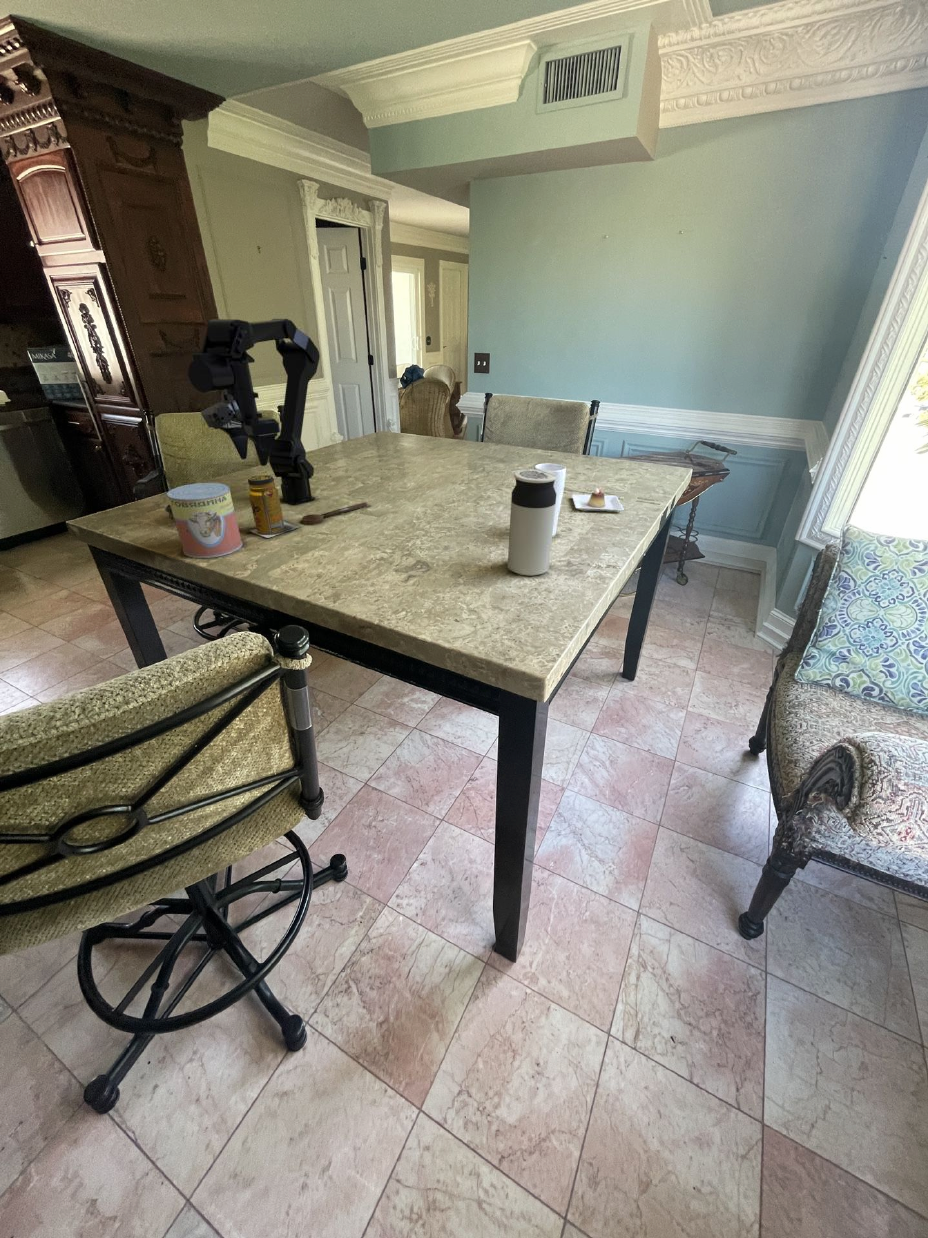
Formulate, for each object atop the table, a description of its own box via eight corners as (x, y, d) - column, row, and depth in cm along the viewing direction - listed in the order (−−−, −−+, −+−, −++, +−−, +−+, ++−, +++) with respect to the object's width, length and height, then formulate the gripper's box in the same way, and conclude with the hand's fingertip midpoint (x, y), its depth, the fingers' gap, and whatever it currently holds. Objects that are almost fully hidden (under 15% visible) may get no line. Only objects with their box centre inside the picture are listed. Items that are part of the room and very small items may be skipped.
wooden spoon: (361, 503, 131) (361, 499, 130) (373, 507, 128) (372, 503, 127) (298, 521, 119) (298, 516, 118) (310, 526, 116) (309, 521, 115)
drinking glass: (561, 531, 114) (568, 464, 107) (556, 541, 109) (563, 472, 101) (532, 527, 116) (537, 462, 109) (525, 537, 111) (530, 469, 103)
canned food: (184, 562, 98) (166, 502, 92) (182, 542, 107) (166, 486, 100) (245, 552, 103) (232, 494, 96) (239, 534, 111) (226, 480, 105)
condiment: (249, 531, 113) (237, 477, 107) (281, 521, 119) (272, 470, 112) (267, 538, 109) (256, 484, 103) (300, 528, 115) (291, 475, 109)
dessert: (615, 499, 136) (618, 481, 133) (623, 514, 125) (626, 495, 123) (571, 497, 137) (573, 480, 134) (575, 512, 126) (577, 493, 124)
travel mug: (519, 579, 93) (527, 482, 83) (500, 563, 99) (504, 471, 90) (556, 572, 95) (567, 477, 86) (535, 557, 102) (543, 467, 92)
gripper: (181, 386, 107) (200, 461, 115) (221, 394, 96) (239, 476, 104) (232, 383, 114) (246, 453, 122) (274, 390, 103) (287, 466, 111)
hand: (253, 462), depth 115 cm, fingers open, 9 cm apart
